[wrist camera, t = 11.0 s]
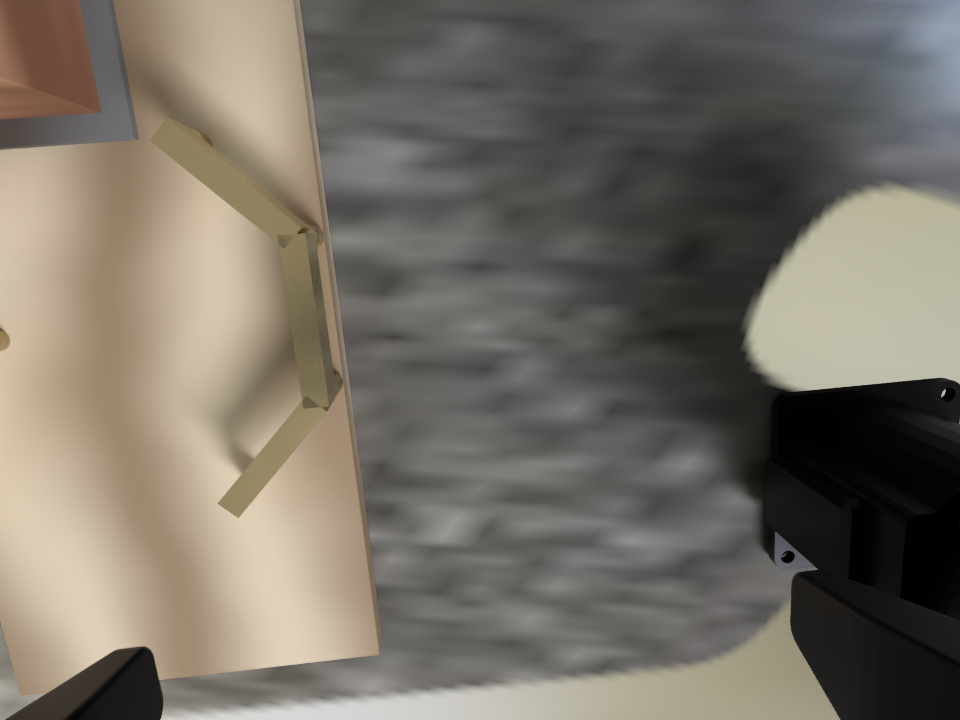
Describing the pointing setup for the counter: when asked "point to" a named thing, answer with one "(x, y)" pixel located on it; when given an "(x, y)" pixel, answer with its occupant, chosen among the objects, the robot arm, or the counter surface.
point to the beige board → (170, 366)
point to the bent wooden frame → (300, 290)
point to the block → (45, 60)
